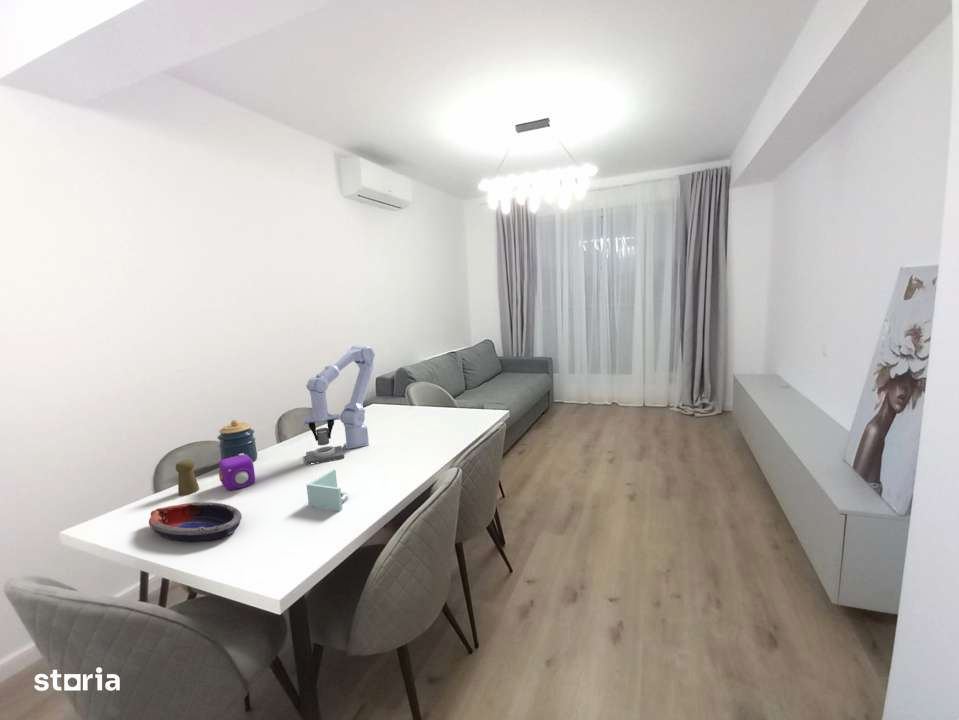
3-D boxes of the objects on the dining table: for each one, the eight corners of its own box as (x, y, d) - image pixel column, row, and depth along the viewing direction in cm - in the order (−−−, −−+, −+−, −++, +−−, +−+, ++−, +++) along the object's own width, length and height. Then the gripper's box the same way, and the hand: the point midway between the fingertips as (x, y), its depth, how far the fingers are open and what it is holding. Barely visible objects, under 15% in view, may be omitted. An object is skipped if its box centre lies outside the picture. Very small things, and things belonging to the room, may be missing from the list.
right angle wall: (340, 512, 123) (338, 489, 122) (309, 507, 128) (306, 484, 127) (365, 494, 134) (362, 472, 133) (335, 490, 139) (332, 469, 138)
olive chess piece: (197, 486, 147) (192, 456, 145) (201, 490, 142) (196, 460, 141) (176, 492, 143) (171, 461, 141) (179, 497, 138) (174, 466, 137)
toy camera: (232, 496, 137) (228, 468, 135) (215, 487, 145) (211, 460, 144) (265, 484, 145) (261, 457, 144) (247, 476, 154) (244, 450, 152)
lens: (329, 441, 171) (327, 427, 171) (329, 444, 167) (328, 430, 166) (317, 442, 170) (316, 428, 169) (317, 446, 166) (316, 431, 165)
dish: (208, 553, 105) (205, 535, 104) (130, 535, 116) (127, 519, 115) (259, 522, 119) (257, 506, 119) (186, 509, 130) (184, 494, 129)
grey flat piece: (341, 449, 178) (340, 442, 177) (344, 458, 167) (343, 451, 166) (306, 455, 172) (305, 448, 172) (307, 465, 161) (306, 457, 161)
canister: (242, 468, 161) (236, 425, 158) (213, 467, 163) (207, 424, 161) (264, 456, 174) (259, 415, 171) (238, 455, 176) (232, 415, 174)
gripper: (300, 411, 160) (304, 445, 162) (339, 406, 166) (342, 438, 167) (300, 407, 166) (303, 440, 168) (337, 402, 172) (340, 434, 174)
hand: (323, 439), depth 168 cm, fingers closed on lens, 4 cm apart
